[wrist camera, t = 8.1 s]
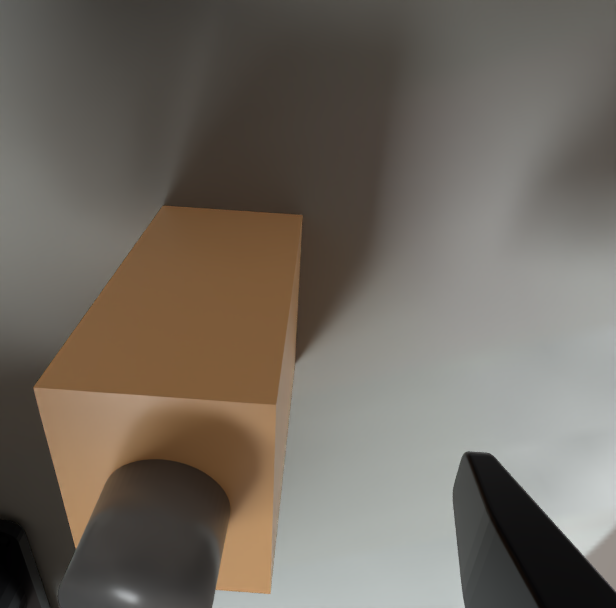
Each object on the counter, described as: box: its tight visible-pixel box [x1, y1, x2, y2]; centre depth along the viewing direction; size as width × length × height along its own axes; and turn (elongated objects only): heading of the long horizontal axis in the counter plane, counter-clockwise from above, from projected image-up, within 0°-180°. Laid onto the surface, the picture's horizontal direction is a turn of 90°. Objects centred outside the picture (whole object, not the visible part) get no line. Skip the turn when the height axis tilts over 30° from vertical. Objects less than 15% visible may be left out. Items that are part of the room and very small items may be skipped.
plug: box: [33, 206, 303, 608], centre depth 10 cm, size 4×3×8 cm
